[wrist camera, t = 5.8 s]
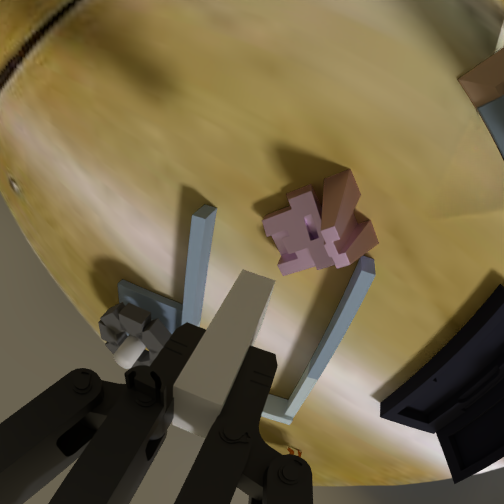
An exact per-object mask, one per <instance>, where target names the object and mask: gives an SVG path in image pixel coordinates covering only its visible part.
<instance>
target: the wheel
mask: <svg viewBox="0 0 504 504" xmlns="http://www.w3.org/2000/svg"><path fill="white" fill-rule="evenodd" d="M100 319H101V320H100V321H99V322H98V323H99V328H100V333H101V338H102V339H103V340H105V341H107V342H106V344H105V345H106V346H107V348H108V349H109V350H110V351H111V352H112V353H113V354H114V353H115V352H116V351H117V349H118V348H119V347H120V346H121V344H122V343H123V342H124V341H125V339H126V338H127V337H128V336H127V334H126V332H127V333H129V334H131V335H133V336H135V337H137V338H139V339H140V340H141V342H142V343H143V344H144V345H145V346H146V347H147V349H148V350H149V351H147V350H145V349H144V351H143V352H142V353H141V355H140V356H139V357H138V359H137V360H136V362H135V363H134V364H133V366H132V367H135V366H138V365H147V366H150V365H151V364H152V362H153V361H154V359H155V358H156V357H157V355H158V354H159V352H160V351H161V349H162V348H163V347H164V345H165V344H166V342H167V341H168V340H169V338H170V337H171V335H172V334H171V333H170V332H169V331H168V329H167V328H166V327H165V326H164V324H163V323H162V322H161V321H160V320H159V318H157V319H154V320H152V321H151V312H149V311H147V310H144V309H142V308H140V307H138V306H135V305H133V304H131V303H128V304H127V305H126V306H125V305H124V303H123V302H121V303H119V304H117V305H115V306H113V307H111V308H109V309H108V310H107V311H106V313H105V314H104V315H103V316H102V317H101V318H100ZM132 367H131V368H132Z"/></svg>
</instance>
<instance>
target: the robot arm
mask: <svg viewBox="0 0 504 504" xmlns="http://www.w3.org/2000/svg"><path fill="white" fill-rule="evenodd" d="M274 284H275V280H272V279H269V278H266V277H263V276H260V275H257V274H255V273H252V272H249V271H246V270H242V271H241V273H240V275H239V276H238V278H237V280H236V281H235V283H234V285H233V287H232V288H231V290H230V292H229V293H228V295H227V297H226V298H225V300H224V302H223V303H222V305H221V307H220V308H219V310H218V312H217V313H216V315H215V317H214V318H213V320H212V322H211V323H210V325H209V327H208V328H207V330H205V329H203V328H200V327H198V326H195V325H193V324H190V323H188V322H186V323H185V324H183V325H181V326H180V327H178V328H176V330H175V331H174V332H173V334H172V335H171V337H170V338H169V340H168V341H167V342H166V344H165V345H164V347H163V348H162V349H161V351H160V352H159V354H158V355H157V357H156V358H155V359H154V361H153V362H152V364H151V365H150V366H147V365H138V366H135V367H132V368H130V369H129V370H128V371H127V372H125V379H126V384H117V383H112V382H108V381H103V380H101V379H100V377H99V376H98V375H97V373H95V372H94V371H92V370H90V369H86V368H80V369H75V370H73V371H71V372H70V373H68V374H67V375H65V376H64V377H63V378H61V379H60V380H59V381H57V382H56V383H55V384H53V385H52V386H50V387H49V388H48V389H46V390H45V391H44V392H42V393H41V394H40V395H38V396H37V397H36V398H34V399H33V400H31V401H30V402H29V403H27V404H26V405H25V406H23V407H22V408H21V409H20V410H18V411H17V412H15V413H14V414H13V415H11V416H10V417H9V418H7V419H6V420H5V421H3V422H2V423H1V424H0V504H23V503H24V502H25V501H27V500H28V499H29V498H30V497H32V496H33V495H34V494H35V493H37V492H38V491H39V490H40V489H41V488H43V487H44V486H45V485H46V484H48V483H49V482H50V481H51V480H53V479H54V478H55V477H56V476H57V475H58V474H60V473H61V472H62V471H63V470H64V469H66V468H67V467H68V466H69V465H70V464H71V463H73V462H74V461H75V460H76V459H77V458H78V460H77V462H76V463H75V464H74V466H73V467H72V469H71V470H70V472H69V473H68V475H67V476H66V478H65V479H64V481H63V482H62V484H61V485H60V487H59V488H58V490H57V491H56V493H55V494H54V496H53V497H52V499H51V500H50V502H49V504H129V503H130V501H131V499H132V498H133V496H134V494H135V493H136V491H137V489H138V487H139V485H140V484H141V482H142V480H143V478H144V476H145V475H146V473H147V471H148V469H149V467H150V465H151V464H152V462H153V460H154V458H155V456H156V455H157V453H158V451H159V449H160V447H161V446H162V444H163V442H164V440H165V438H166V435H167V429H168V427H169V425H170V423H171V422H172V420H173V425H175V426H177V427H179V428H182V429H184V430H186V431H188V432H191V433H194V434H196V435H198V436H201V437H203V438H206V439H205V441H204V443H203V445H202V447H201V449H200V451H199V454H198V455H197V458H196V460H195V462H194V464H193V466H192V468H191V470H190V472H189V474H188V476H187V478H186V480H185V483H184V484H183V486H182V488H181V491H180V493H179V495H178V497H177V499H176V501H175V503H174V504H230V502H231V500H232V497H233V495H234V492H235V490H236V487H237V488H239V489H240V490H242V491H243V492H245V493H246V494H247V495H249V504H313V486H312V472H311V468H310V466H309V465H308V463H307V462H306V461H305V460H304V459H302V458H301V457H299V456H296V455H291V454H287V455H282V454H280V453H279V452H277V451H276V450H274V449H273V448H271V447H270V446H269V445H267V444H266V443H265V442H264V440H263V439H262V438H261V435H260V433H259V421H260V418H261V415H262V412H263V409H264V406H265V403H266V400H267V397H268V394H269V391H270V388H271V385H272V382H273V379H274V376H275V373H276V370H277V360H276V355H275V354H273V353H270V352H267V351H264V350H262V349H259V348H256V347H253V345H254V342H255V340H256V338H257V335H258V333H259V330H260V328H261V325H262V322H263V319H264V316H265V313H266V310H267V307H268V303H269V300H270V297H271V294H272V291H273V288H274Z"/></svg>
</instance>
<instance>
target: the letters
mask: <svg viewBox="0 0 504 504" xmlns="http://www.w3.org/2000/svg"><path fill="white" fill-rule="evenodd" d="M286 195H287V199H288V201H289V204H290V206H288V207H286V208H283V209H280V210H278V211H275V212H273V213H270V214H268V215H266V216H265V217H264V219H263V220H262V222H263V226H264V229H265V233H266V236H267V237H268V236H272V238H273V240H274V242H275V244H276V246H277V248H278V250H279V252H280V254H281V258H280V260H279V262H278V267H279V269H280V271H281V273H282V275H283V276H284V275H288V274H291V273H294V272H298V271H301V270H305V269H308V268H311V267H314V266H316V268H317V270H319V269H323V268H326V267H329V266H333V265H335V266H336V268H337V269H338V268H341V267H344V266H348V265H350V264H352V263H353V262H355V261H356V260H357V259H359V258H360V257H361V256H363V255H364V254H365V253H367V252H368V251H369V250H371V249H372V248H373V247H375V246H376V245H377V244H379V242H378V239H377V236H376V233H375V231H374V228H373V225H372V222H371V220H369V221H366V222H363V223H360V224H358V223H357V221H356V218H355V215H354V213H353V211H354V209H355V207H356V205H357V202H358V200H359V198H360V196H361V193H360V191H359V188H358V186H357V183H356V181H355V179H354V176H353V174H352V171H351V169H349V170H346V171H343V172H341V173H338V174H335V175H333V176H330V177H327V178H325V179H324V189H323V204H322V207H321V205H320V202H319V200H318V198H317V196H316V193H315V191H314V189H313V187H312V185H311V184H309V185H307V186H304V187H302V188H299V189H297V190H294V191H292V192H289V193H287V194H286Z"/></svg>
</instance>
